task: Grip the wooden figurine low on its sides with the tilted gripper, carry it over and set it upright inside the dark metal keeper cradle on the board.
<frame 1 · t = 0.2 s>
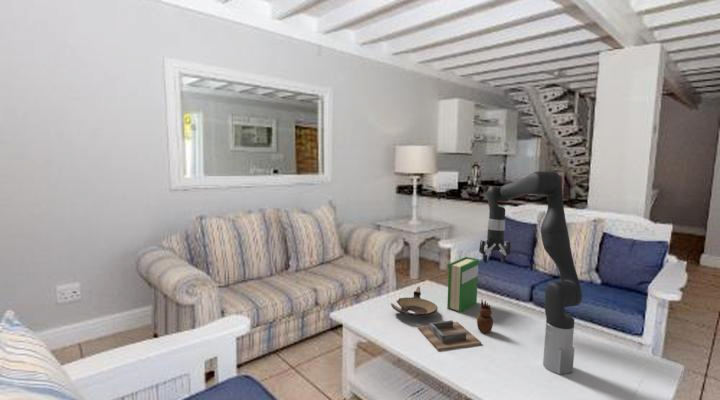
hand: (493, 262, 182), 28 cm above the table, tool pointing down, fingers open, 8 cm apart
oil lamp: (416, 312, 193), on the table
hardback book: (462, 306, 201), on the table
keeper cradle: (448, 336, 168), on the table
wooden figurine: (484, 331, 173), on the table
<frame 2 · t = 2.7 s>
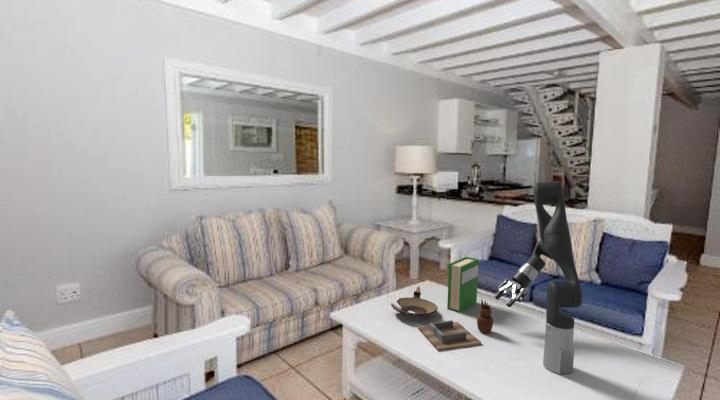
hand: (501, 302, 173), 13 cm above the table, tool tilted 45°, fingers open, 8 cm apart
nothing on the table moved.
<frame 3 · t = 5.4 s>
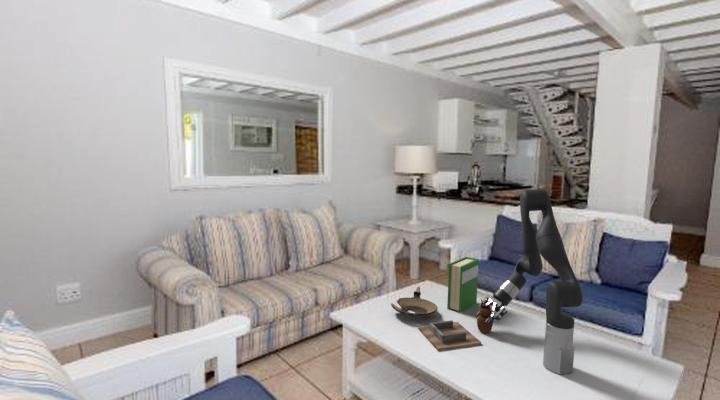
hand: (481, 320, 172), 5 cm above the table, tool tilted 45°, fingers closed on wooden figurine, 6 cm apart
wooden figurine: (484, 331, 173), on the table, touching gripper
everything else where it was.
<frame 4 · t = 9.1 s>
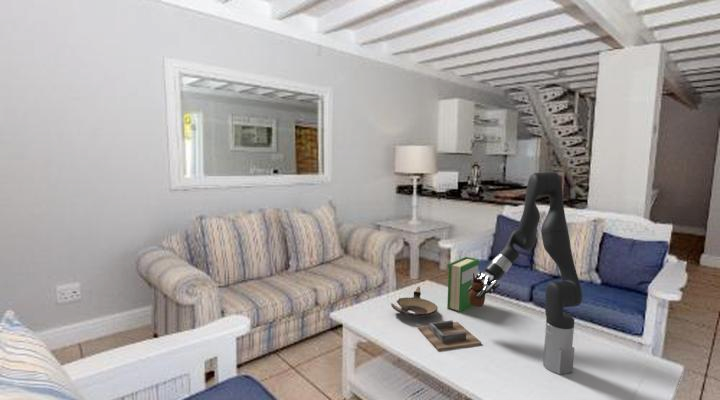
hand: (473, 294, 169), 18 cm above the table, tool tilted 45°, fingers closed on wooden figurine, 6 cm apart
wooden figurine: (476, 306, 170), point 12 cm above the table, touching gripper
everything else where it was.
when the fingers open (8 cm above the table, at t = 12.8 s): wooden figurine drops 1 cm, resting on keeper cradle.
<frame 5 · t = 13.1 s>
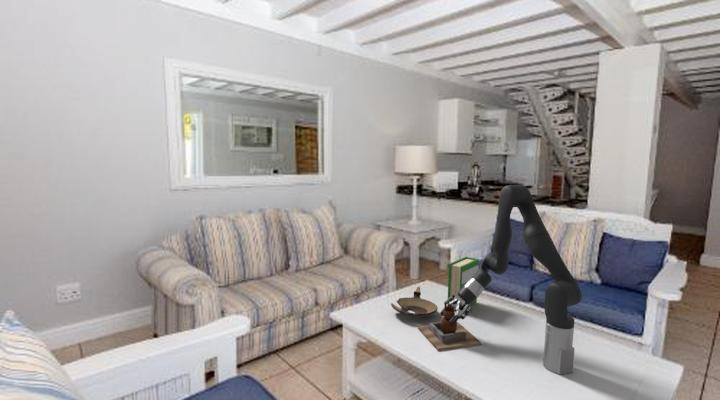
hand: (446, 319, 167), 8 cm above the table, tool tilted 45°, fingers open, 8 cm apart
wooden figurine: (448, 334, 168), point 1 cm above the table, touching keeper cradle
everything else where it was.
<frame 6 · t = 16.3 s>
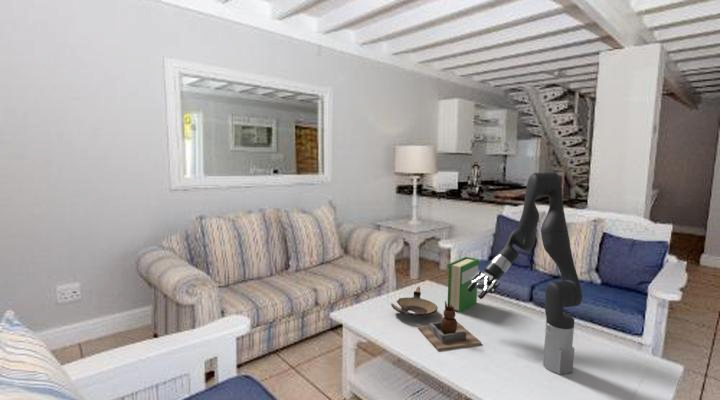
hand: (473, 294, 169), 18 cm above the table, tool tilted 45°, fingers open, 8 cm apart
nothing on the table moved.
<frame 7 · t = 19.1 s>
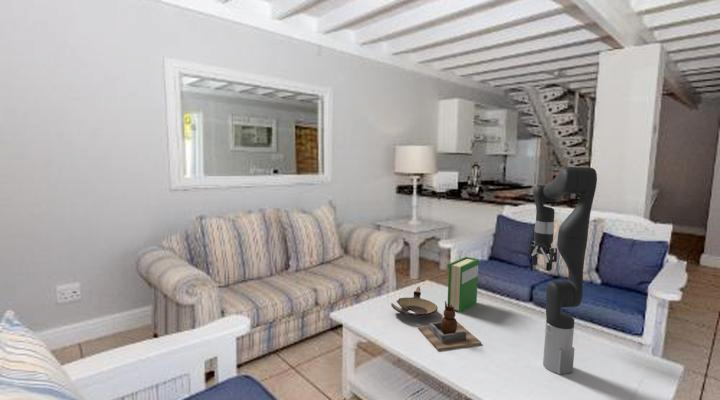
hand: (541, 267, 168), 30 cm above the table, tool pointing down, fingers open, 8 cm apart
nothing on the table moved.
at the end: wooden figurine 0.3 cm off-centre on the keeper cradle, point 0.8 cm above the keeper cradle's base; wooden figurine tilted 0°; the gripper is holding nothing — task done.
